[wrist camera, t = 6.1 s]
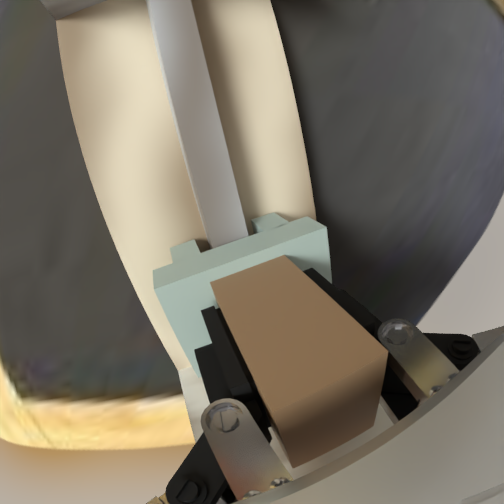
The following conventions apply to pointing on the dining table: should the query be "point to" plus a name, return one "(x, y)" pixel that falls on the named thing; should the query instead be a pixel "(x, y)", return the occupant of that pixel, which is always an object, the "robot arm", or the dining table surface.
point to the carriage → (281, 331)
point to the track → (186, 141)
